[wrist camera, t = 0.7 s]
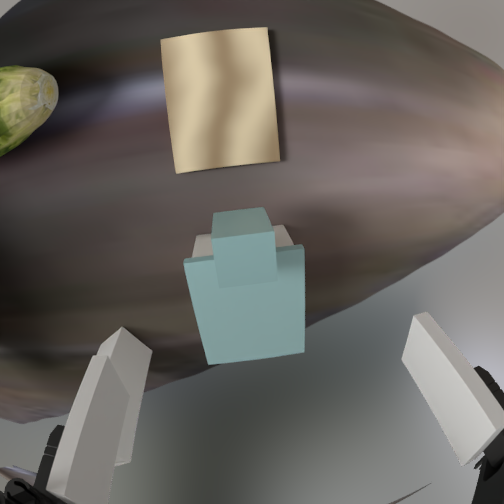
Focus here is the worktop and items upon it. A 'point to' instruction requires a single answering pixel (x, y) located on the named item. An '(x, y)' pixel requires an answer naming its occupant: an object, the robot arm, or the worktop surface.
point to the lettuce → (24, 103)
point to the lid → (248, 290)
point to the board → (220, 99)
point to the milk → (128, 382)
